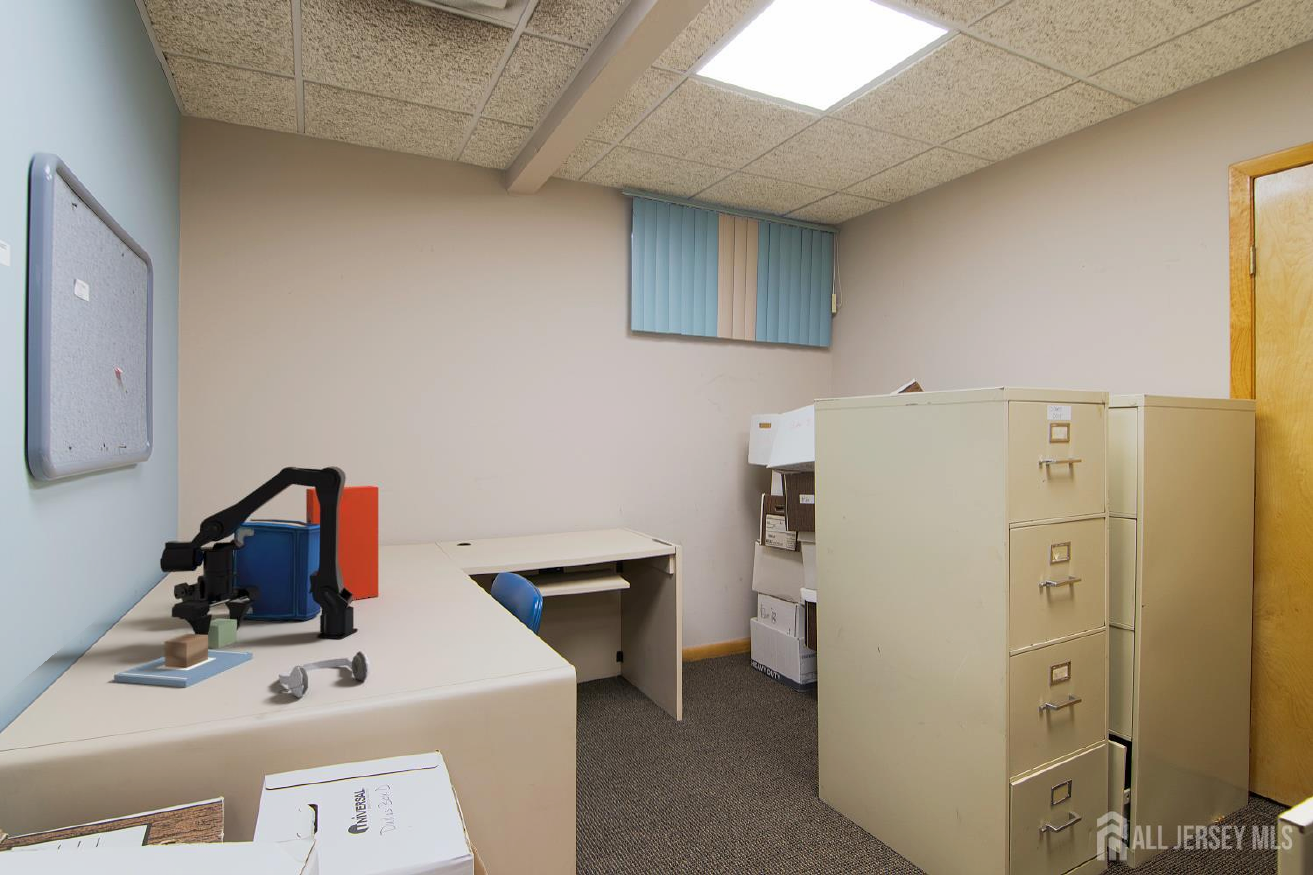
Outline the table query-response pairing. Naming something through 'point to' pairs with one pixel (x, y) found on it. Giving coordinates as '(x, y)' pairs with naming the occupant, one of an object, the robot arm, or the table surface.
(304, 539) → the book
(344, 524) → the file binder
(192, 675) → the board
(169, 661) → the walnut block
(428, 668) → the table surface
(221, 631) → the green block
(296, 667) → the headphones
